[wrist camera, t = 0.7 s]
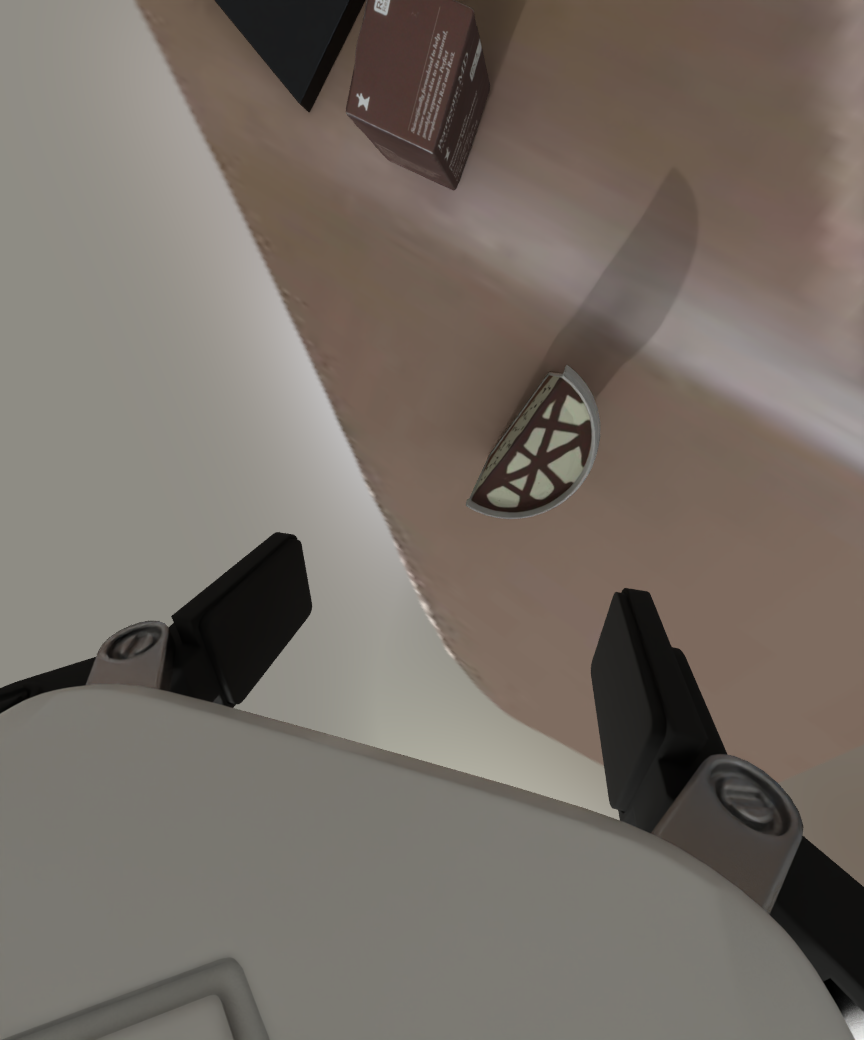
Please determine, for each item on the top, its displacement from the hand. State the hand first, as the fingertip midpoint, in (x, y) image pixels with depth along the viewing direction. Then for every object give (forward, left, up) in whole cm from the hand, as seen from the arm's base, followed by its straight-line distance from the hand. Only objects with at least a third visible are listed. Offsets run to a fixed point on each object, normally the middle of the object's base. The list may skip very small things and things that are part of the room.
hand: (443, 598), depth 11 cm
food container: (-1, +4, -28) cm, 28 cm away
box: (-9, -19, -28) cm, 35 cm away
